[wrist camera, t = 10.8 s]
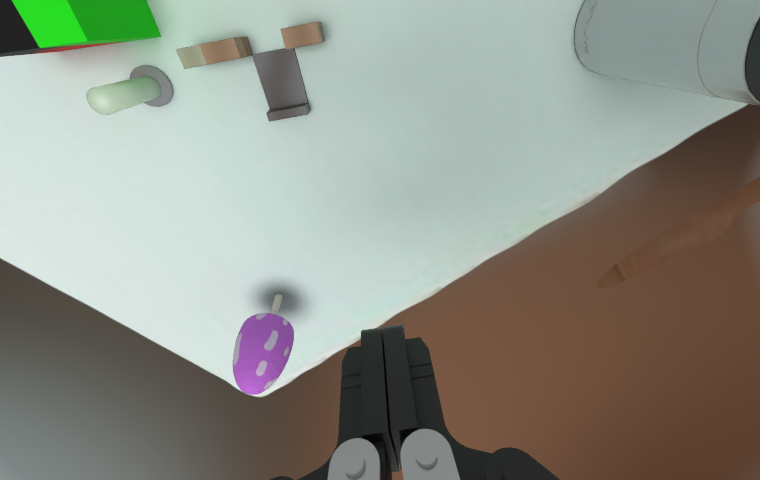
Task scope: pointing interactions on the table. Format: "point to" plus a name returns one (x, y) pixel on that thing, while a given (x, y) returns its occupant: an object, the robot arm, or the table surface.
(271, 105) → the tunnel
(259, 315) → the toy
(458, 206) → the table surface
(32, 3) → the puzzle toy
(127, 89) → the goal post
